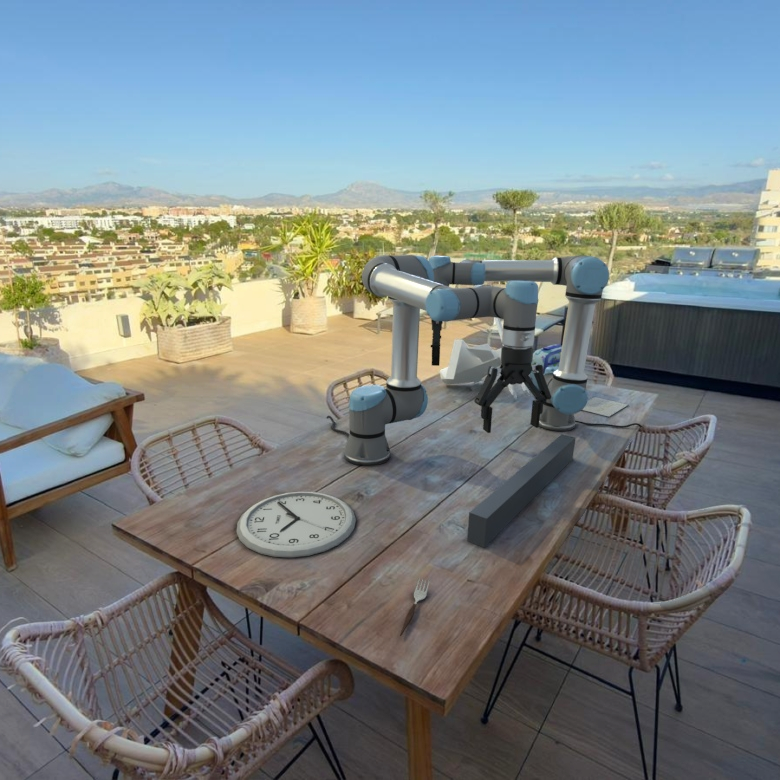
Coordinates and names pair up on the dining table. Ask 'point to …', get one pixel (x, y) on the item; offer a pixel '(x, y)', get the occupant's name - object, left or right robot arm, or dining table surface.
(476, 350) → the white plastic object
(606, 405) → the invitation card
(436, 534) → the dining table surface
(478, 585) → the dining table surface
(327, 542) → the wall clock
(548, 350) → the lunch box
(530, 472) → the post
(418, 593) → the fork
